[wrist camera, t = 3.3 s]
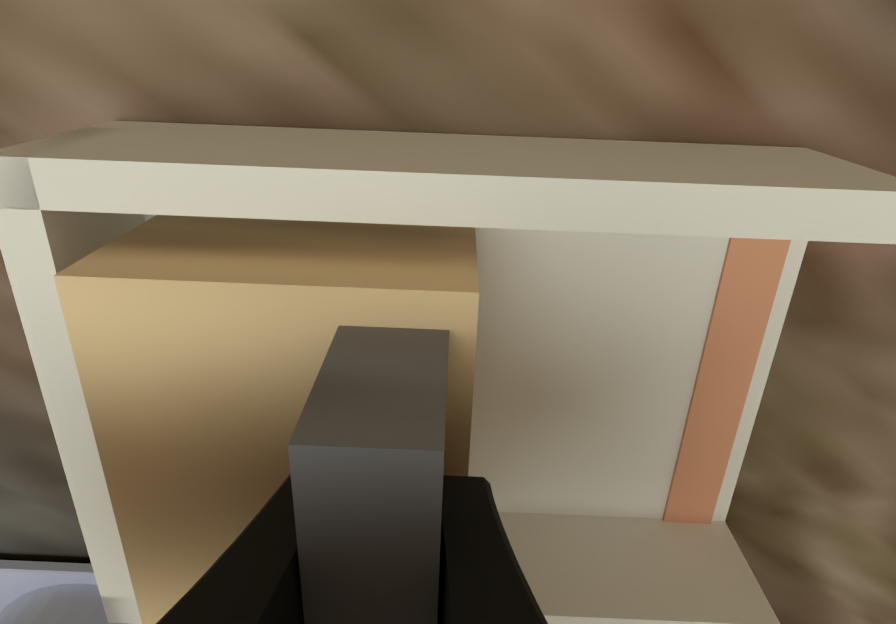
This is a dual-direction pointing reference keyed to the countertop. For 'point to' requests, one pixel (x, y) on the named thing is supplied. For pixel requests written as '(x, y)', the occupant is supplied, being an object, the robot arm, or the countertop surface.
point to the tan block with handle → (280, 398)
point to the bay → (503, 320)
